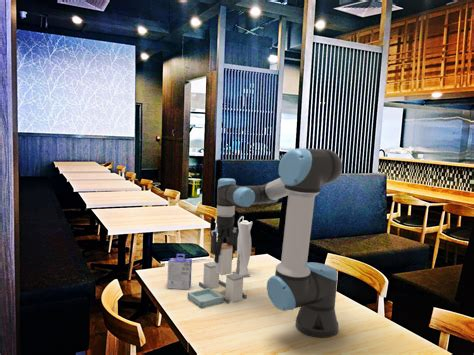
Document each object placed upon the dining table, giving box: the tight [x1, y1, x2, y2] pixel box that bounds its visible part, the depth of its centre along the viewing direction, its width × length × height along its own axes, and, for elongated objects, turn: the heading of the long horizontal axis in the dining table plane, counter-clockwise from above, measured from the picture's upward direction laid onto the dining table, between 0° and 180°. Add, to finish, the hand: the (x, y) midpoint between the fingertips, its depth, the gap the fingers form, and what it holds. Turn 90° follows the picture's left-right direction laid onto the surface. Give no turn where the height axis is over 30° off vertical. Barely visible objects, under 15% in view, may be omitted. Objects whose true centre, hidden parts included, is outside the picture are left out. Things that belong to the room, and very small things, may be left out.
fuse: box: [215, 242, 233, 276], centre depth 174 cm, size 5×5×12 cm
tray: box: [187, 288, 225, 309], centre depth 165 cm, size 11×11×2 cm
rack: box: [198, 261, 248, 305], centre depth 175 cm, size 22×10×10 cm, turn 37°
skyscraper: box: [231, 215, 253, 278], centre depth 197 cm, size 8×8×28 cm
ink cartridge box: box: [166, 253, 193, 290], centre depth 178 cm, size 10×6×14 cm, turn 89°
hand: (223, 268), depth 174 cm, fingers closed on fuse, 5 cm apart
